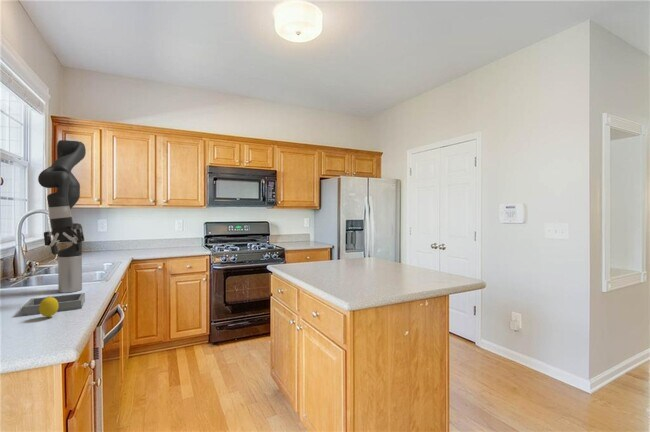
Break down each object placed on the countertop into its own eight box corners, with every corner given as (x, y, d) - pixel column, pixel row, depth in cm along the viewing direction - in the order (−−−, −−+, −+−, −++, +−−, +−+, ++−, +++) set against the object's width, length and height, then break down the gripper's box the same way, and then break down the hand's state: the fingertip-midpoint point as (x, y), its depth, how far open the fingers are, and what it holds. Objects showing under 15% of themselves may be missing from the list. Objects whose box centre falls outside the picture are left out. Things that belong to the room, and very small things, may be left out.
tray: (31, 306, 133) (30, 298, 133) (85, 300, 142) (84, 292, 142) (22, 316, 122) (22, 307, 122) (81, 308, 131) (81, 300, 131)
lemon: (46, 315, 123) (46, 294, 123) (62, 314, 124) (62, 294, 123) (35, 320, 118) (34, 298, 117) (51, 320, 118) (51, 298, 118)
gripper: (83, 214, 146) (89, 249, 147) (47, 217, 143) (53, 253, 144) (74, 216, 138) (80, 252, 140) (36, 219, 136) (42, 257, 137)
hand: (66, 253), depth 142 cm, fingers open, 8 cm apart
